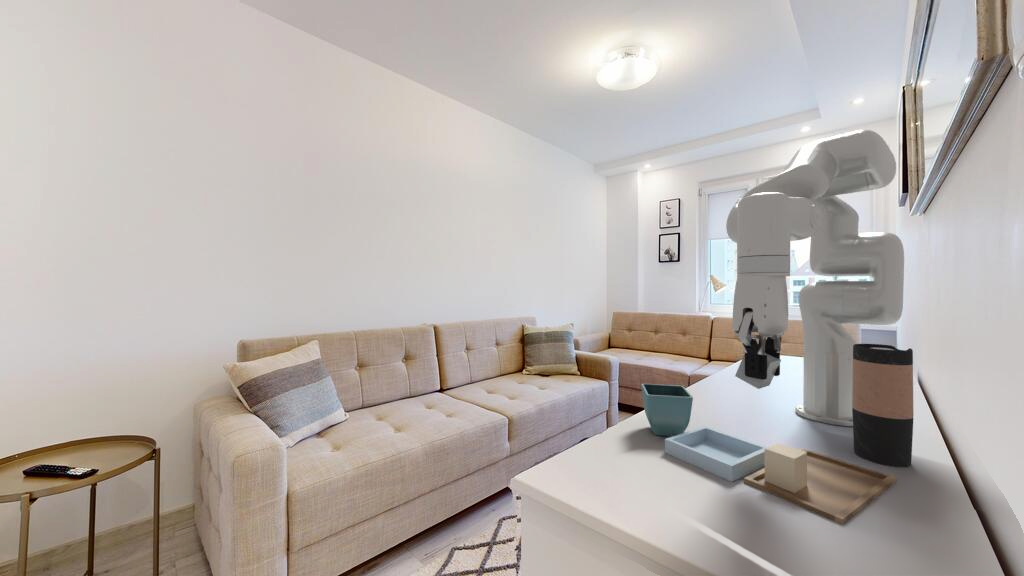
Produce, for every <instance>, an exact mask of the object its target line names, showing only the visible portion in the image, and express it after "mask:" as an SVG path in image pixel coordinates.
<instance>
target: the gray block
mask: <svg viewBox="0 0 1024 576" xmlns="http://www.w3.org/2000/svg"><path fill="white" fill-rule="evenodd" d="M764 355H767V379H765V380H762V379H757V378H751V377H747V376H745V353H744V354H743V357H742V359H741V362H740V364H739V366H738V368H737V369H736V370H737V371H736V373H735V375H734V377H735V378H738V379H739V380H741V381H743V382H745V383H746V384H748V385H750V386H752V387H754V388H756V389H758V390H759V389H763V388H766V387H769V386H770V385H771V382H772V381H773V379H774V377H775V376H774V374H775V372H776V369H777V368H778V366H779V364H780V365H781V362H782V359H778V358H775V357H773V356H771V355H769V354H767V353H764Z"/></svg>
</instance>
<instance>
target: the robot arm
mask: <svg viewBox="0 0 1024 576" xmlns="http://www.w3.org/2000/svg"><path fill="white" fill-rule="evenodd" d="M896 172H897V162H896V158H895V156H894V154H893V152H892V150H891V149H890V147H889V145H888V144H887V142H886V141H885V139H884V138H883V137H882V136H881V134H879V133H877V132H876V131H873V130H870V129H859V130H855V131H852V132H851V131H850V132H846V133H844V134H838V135H835V136H831V137H827V138H821V139H818V140H814V141H812V142H809V143H807V144H805V145H803V146H802V147H801V148H799V149H798V150H797V151H796V152H795V154H794V155H793V157H792V158H791V160H790V161H789V163H788V164H787V165H786V166H785V168H784V169H783V171H782V172H781V173H779V174H776V175H775V176H773V177H770V178H769V179H768V180H766V181H763V182H762V183H760V184H758V185H756V186H754V187H752V188H751V189H749V190H747V191H746V192H744V193H743V194H742V195H740V197H739V199H737V201H736V202H735V203H734V205H733V206H732V208H731V210H730V212H729V214H728V217H727V218H726V226H725V227H726V228H725V229H726V233H727V236H728V238H729V239H730V240H731V241H732V242H733V243H735V244H736V282H735V288H734V293H733V303H732V306H733V308H732V324H731V325H732V331H733V332H734V333H735V334H736V335H737V336H738V337H737V339H739V340H740V342H741V343H742V346H743V349H742V350H743V353H744V354H745V376H747V377H751V378H757V379H762V380H765V379H767V355H764V353H767V354H769V355H771V356H773V357H775V358H778V359H780V358H781V350H782V346H781V345H782V344H781V341H782V338H783V336H784V334H785V332H787V331H788V327H789V299H788V298H789V297H788V294H789V293H788V286H787V277H790V276H791V242H794V241H801V240H806V239H808V238H810V244H809V245H810V247H809V267H810V269H811V271H812V272H813V274H815V275H817V276H822V277H871V278H872V279H873V280H824V281H823V280H822V281H814V282H811V283H808V284H805V285H804V286H803V287H802V288H801V289H800V291H799V293H798V306H799V311H800V317H801V323H802V333H803V334H802V337H803V350H802V351H803V353H802V354H803V387H802V388H803V390H802V393H803V399H802V400H803V402H802V403H801V404H797V405H796V406H795V408H794V409H795V413H796V414H798V415H799V416H801V417H803V418H806V419H807V420H808V419H809V420H810V421H814V422H819V423H824V424H827V425H828V424H829V425H832V426H834V425H835V426H840V427H843V426H844V427H853V415H852V387H853V345H854V344H857V342H856V339H855V337H854V336H853V335H852V333H850V331H848V330H847V329H846V328H845V327H844V326H843V325H844V324H851V325H853V324H855V325H871V326H872V325H873V326H874V325H875V326H890V325H894V324H896V323H898V322H899V321H900V320H901V317H902V314H903V308H904V307H903V306H904V289H905V288H904V287H905V285H904V283H905V281H904V279H905V250H904V249H905V248H904V246H903V243H902V242H903V241H902V240H901V238H900V237H899V236H898V235H896V234H894V233H891V232H885V231H884V232H883V231H879V232H867V233H859V221H860V220H859V219H860V217H859V216H860V215H859V213H858V212H857V210H856V209H854V207H852V206H851V205H850V204H848V203H847V202H846V201H845V200H842V199H841V198H839V197H838V196H840V195H847V194H848V195H849V194H853V193H861V192H868V191H873V190H879V189H882V188H886V187H887V186H889V185H890V184H891V183H892V181H894V180H895V179H894V178H895V175H896ZM753 333H757V334H753ZM757 340H758V341H757ZM780 360H781V359H780ZM780 374H781V363H780V364H779V366H778V368H777V369H776V372H775V374H774V377H778V376H780Z"/></svg>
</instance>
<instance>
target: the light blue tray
mask: <svg viewBox="0 0 1024 576" xmlns="http://www.w3.org/2000/svg"><path fill="white" fill-rule="evenodd" d="M765 448H767V446H764V445H762V444H759V443H757V442H753V441H749V440H747V439H744V438H742V437H738V436H735V435H733V434H729V433H726V432H723V431H721V430H718V429H714V428H711V427H709V426H705V425H704V426H701V427H698V428H695V429H691V430H688V431H684V433H682V434H679V435H676V436H669V437H667V438H664V453H665V454H668V455H670V456H672V457H674V458H676V459H679V460H681V461H683V462H686V463H688V464H691V465H692V466H695V467H697V468H700V469H701V470H703V471H706V472H708V473H711V474H713V475H716V476H717V477H720V478H722V479H723V480H726V481H729V482H731V483H733V482H735V481H737V480H739V479H741V478H743V477H746V476H748V475H750V474H751V473H752V474H753V473H755V471H756V472H757V471H759V470H761V469H763V468H765Z"/></svg>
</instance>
